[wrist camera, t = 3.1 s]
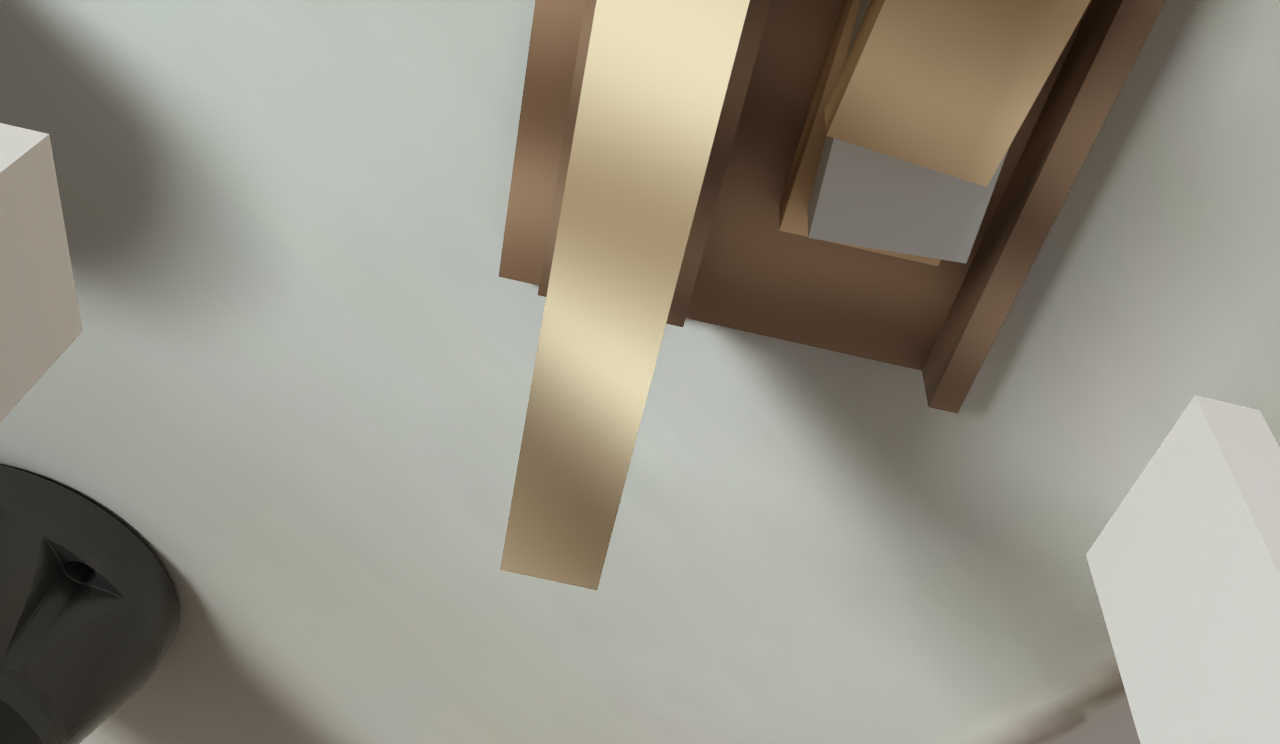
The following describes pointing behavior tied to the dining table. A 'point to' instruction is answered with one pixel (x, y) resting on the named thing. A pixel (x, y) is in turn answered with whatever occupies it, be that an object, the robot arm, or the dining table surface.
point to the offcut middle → (893, 200)
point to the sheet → (615, 270)
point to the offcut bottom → (822, 139)
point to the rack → (758, 172)
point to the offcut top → (947, 79)
